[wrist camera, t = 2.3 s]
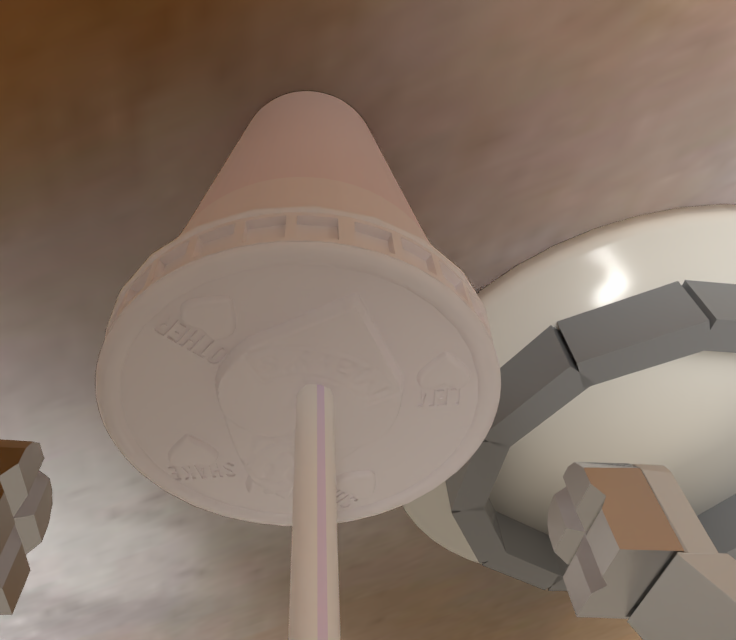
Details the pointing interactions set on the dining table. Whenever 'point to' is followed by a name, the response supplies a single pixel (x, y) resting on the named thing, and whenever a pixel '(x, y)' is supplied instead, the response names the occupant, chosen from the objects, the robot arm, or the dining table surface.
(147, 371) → the smoothie
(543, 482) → the ring plate
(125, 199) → the dining table surface
